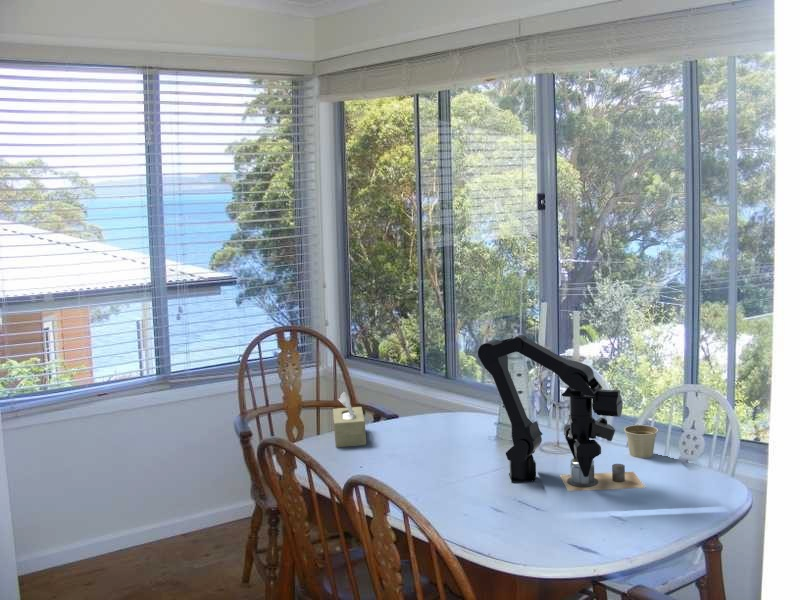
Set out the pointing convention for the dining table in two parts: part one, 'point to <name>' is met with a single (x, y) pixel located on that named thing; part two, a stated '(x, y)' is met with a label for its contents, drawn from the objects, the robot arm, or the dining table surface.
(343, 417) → the tissue box
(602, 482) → the board
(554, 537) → the dining table surface
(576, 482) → the cap
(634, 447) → the flower pot
